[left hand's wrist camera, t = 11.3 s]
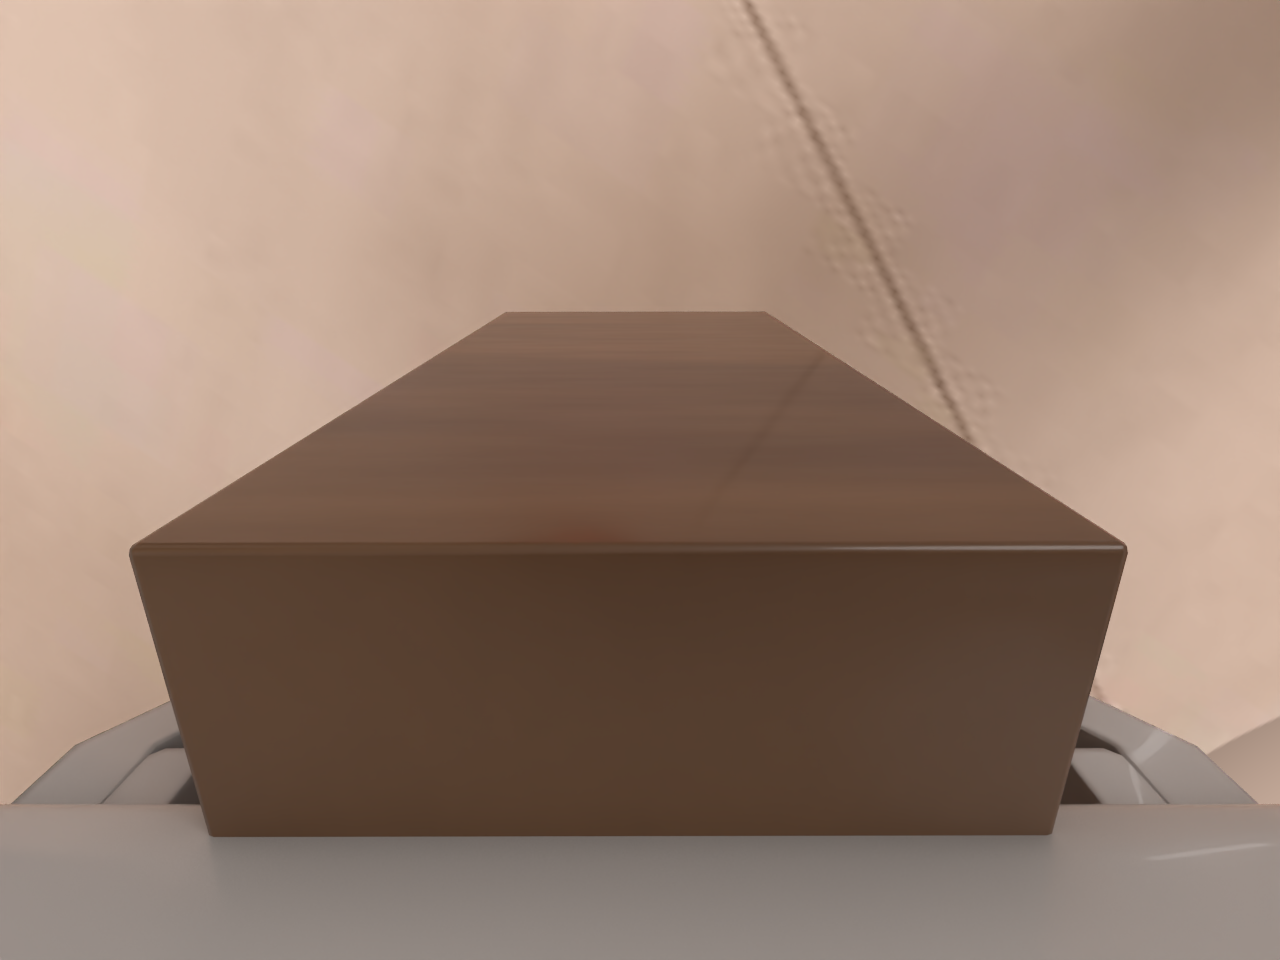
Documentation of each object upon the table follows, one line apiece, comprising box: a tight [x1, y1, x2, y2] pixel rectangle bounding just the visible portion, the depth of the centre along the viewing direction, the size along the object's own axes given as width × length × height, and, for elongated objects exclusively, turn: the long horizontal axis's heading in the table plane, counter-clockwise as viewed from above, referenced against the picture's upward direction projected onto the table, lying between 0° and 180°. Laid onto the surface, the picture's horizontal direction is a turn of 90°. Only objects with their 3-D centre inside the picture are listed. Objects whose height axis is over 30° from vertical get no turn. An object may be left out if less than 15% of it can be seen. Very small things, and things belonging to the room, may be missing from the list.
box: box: [129, 312, 1128, 837], centre depth 13 cm, size 22×6×12 cm, turn 0°
